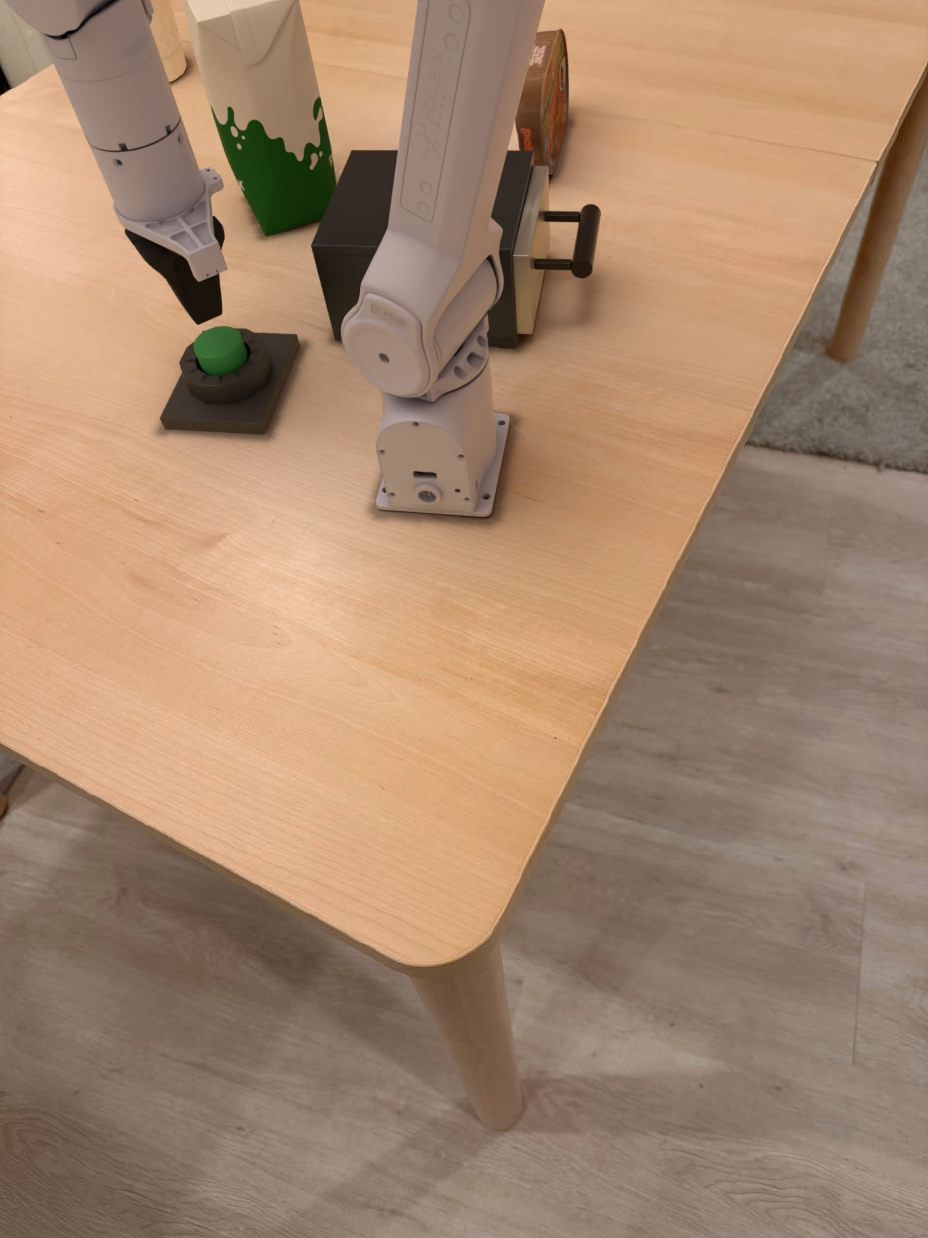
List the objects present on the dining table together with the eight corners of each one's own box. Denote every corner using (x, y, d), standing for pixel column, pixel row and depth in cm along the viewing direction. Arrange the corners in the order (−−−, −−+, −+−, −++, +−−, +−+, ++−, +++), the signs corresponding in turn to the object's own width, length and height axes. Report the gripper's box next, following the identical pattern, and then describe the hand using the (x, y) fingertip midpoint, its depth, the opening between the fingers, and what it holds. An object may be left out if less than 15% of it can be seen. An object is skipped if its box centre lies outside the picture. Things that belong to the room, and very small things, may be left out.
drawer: (602, 245, 76) (604, 165, 71) (588, 336, 70) (590, 257, 65) (392, 241, 79) (379, 164, 74) (362, 328, 73) (345, 251, 68)
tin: (548, 193, 83) (546, 97, 76) (514, 192, 83) (509, 96, 76) (571, 105, 91) (571, 10, 84) (540, 105, 91) (537, 11, 84)
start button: (239, 377, 69) (232, 358, 67) (194, 375, 69) (186, 356, 68) (253, 344, 71) (247, 326, 69) (209, 343, 71) (202, 324, 70)
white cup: (109, 88, 102) (68, -14, 94) (142, 53, 106) (107, -48, 98) (172, 92, 100) (136, -12, 92) (204, 56, 104) (172, -46, 96)
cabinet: (536, 249, 78) (533, 149, 71) (516, 348, 71) (510, 249, 64) (370, 245, 81) (351, 149, 74) (335, 341, 74) (310, 245, 67)
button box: (264, 435, 69) (253, 405, 66) (165, 429, 70) (150, 399, 68) (300, 345, 74) (291, 314, 72) (207, 342, 75) (194, 311, 73)
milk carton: (353, 216, 84) (300, -38, 67) (257, 245, 82) (178, -5, 66) (327, 169, 88) (271, -78, 72) (235, 196, 87) (158, -49, 71)
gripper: (242, 151, 53) (299, 344, 64) (153, 59, 60) (218, 245, 71) (126, 198, 51) (206, 387, 62) (49, 97, 58) (132, 282, 70)
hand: (206, 314), depth 67 cm, fingers closed
